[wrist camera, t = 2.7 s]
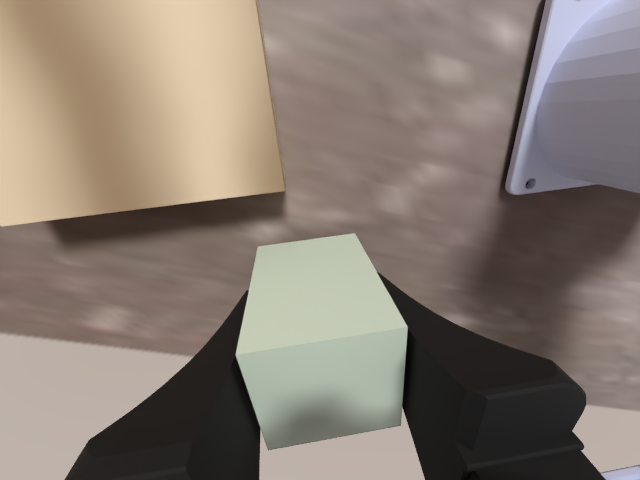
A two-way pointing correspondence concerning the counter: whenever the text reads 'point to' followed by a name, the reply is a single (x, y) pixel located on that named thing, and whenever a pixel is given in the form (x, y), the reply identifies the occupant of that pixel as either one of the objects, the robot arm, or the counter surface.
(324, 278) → the sage block
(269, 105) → the oak slab
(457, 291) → the counter surface
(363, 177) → the counter surface
